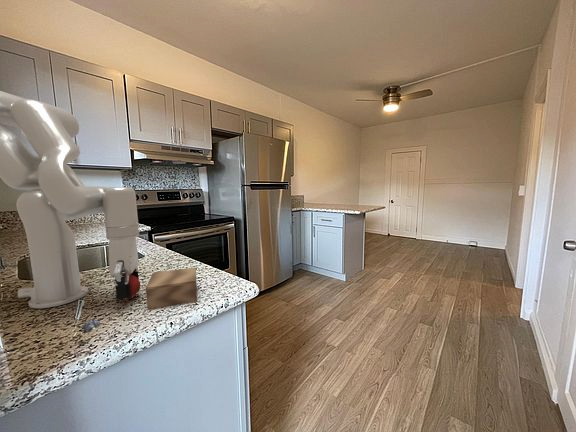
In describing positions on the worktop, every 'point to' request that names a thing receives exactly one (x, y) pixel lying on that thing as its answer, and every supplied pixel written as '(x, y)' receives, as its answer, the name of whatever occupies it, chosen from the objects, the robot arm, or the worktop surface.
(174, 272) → the walnut block
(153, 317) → the worktop surface
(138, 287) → the onion
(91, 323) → the blueberries
